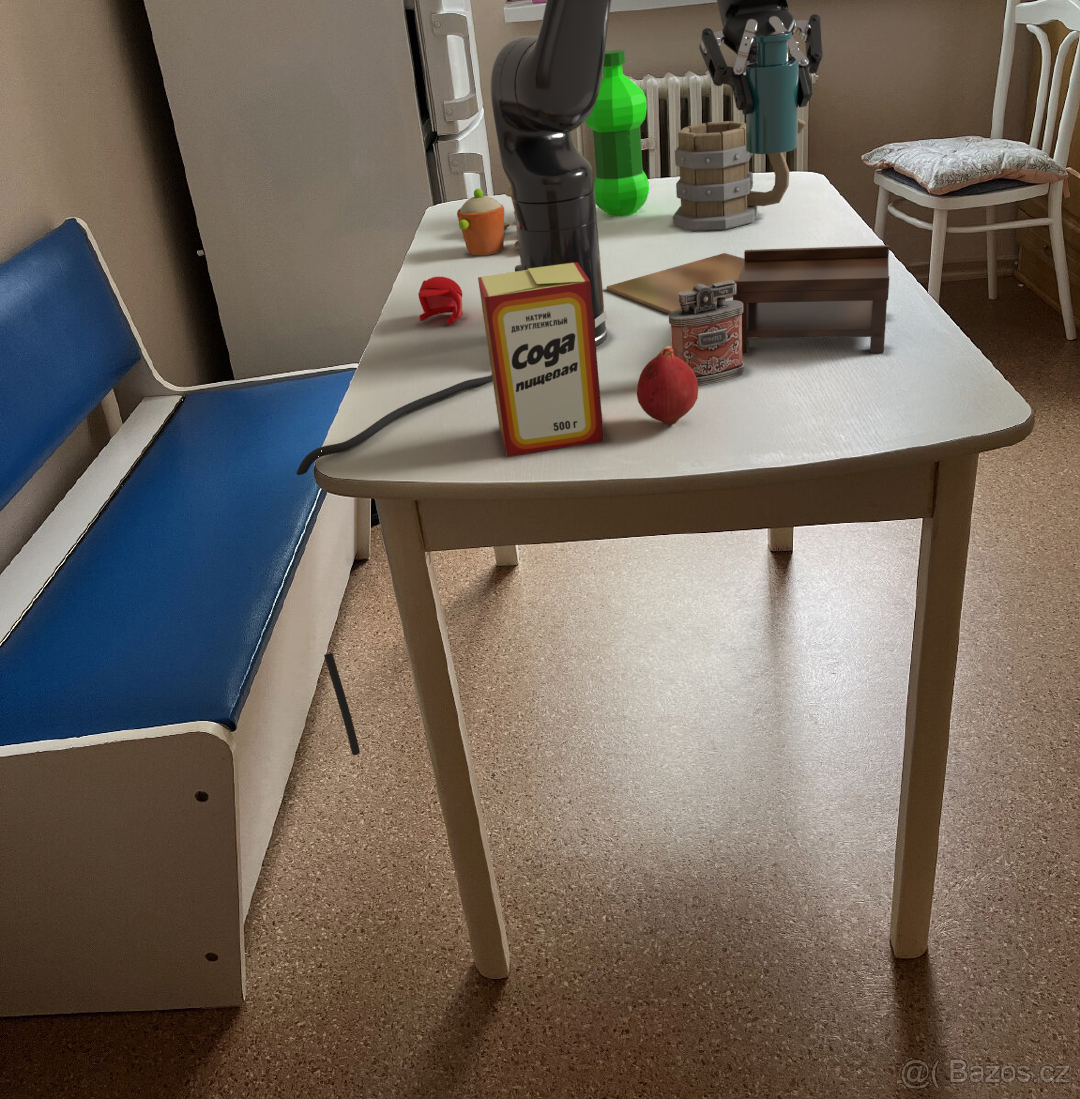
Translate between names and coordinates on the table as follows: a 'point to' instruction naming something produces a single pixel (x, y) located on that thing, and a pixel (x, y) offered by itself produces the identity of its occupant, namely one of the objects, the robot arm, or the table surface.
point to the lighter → (709, 332)
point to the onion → (667, 387)
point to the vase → (772, 96)
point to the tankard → (721, 177)
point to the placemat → (679, 281)
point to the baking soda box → (543, 357)
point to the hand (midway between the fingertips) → (776, 105)
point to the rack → (815, 293)
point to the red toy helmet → (440, 298)
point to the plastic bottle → (618, 140)
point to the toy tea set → (483, 224)
